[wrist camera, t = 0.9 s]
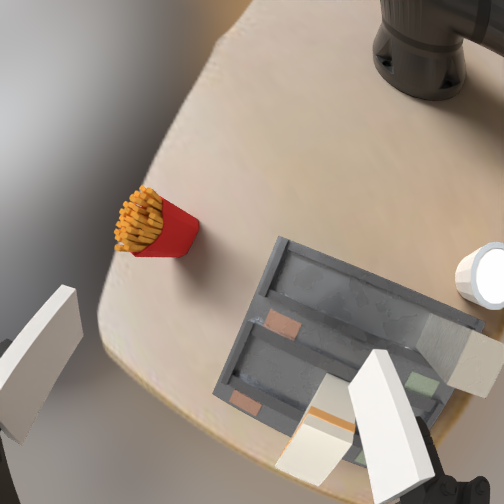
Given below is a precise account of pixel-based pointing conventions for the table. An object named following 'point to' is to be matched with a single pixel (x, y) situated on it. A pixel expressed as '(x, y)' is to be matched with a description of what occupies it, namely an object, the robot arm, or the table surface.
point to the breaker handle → (321, 433)
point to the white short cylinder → (483, 276)
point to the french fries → (154, 227)
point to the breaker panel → (348, 341)
